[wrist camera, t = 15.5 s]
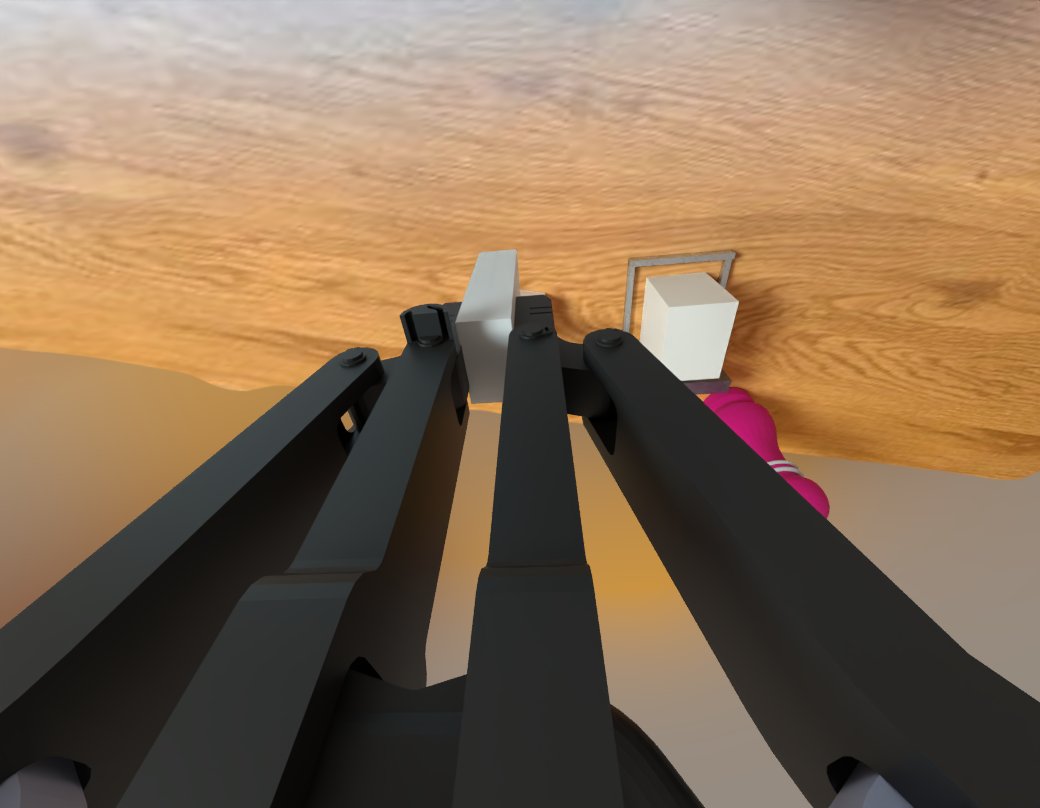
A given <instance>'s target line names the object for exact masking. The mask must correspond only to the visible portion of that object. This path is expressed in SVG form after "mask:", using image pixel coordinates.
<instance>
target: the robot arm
mask: <svg viewBox="0 0 1040 808" xmlns="http://www.w3.org/2000/svg"><path fill="white" fill-rule="evenodd" d="M400 319H401V322H402V326H403V329H404V332H405V336H406V339H407V345H406V347H405V349H404V351H403V353H402V355H401V356H398V357H395V358H390V359H386V360H382V361H381V359H380V357H379V354H378V351H376V350H375V349H372V348H360V347H357V348H354V349H353V348H352V349H348V350H346V351H345V352H343V353H340V354H338V355H337V356H335V357H334V358H332V359H331V360H330V361H328V362H327V363H326V364H325V365H324V366H322V367H321V368H320V369H319V370H317V371H316V372H315V373H314V374H313V375H311V376H310V377H309V378H308V379H306V380H305V381H304V382H303V383H302V384H300V385H299V386H298V387H297V388H295V389H294V390H293V391H292V392H291V393H289V394H288V395H287V396H286V397H284V398H283V399H282V400H281V401H280V402H278V403H277V404H276V405H275V406H273V407H272V408H271V409H270V410H268V411H267V412H266V413H265V414H264V415H262V416H261V417H260V418H259V419H258V420H256V421H255V422H254V423H252V424H251V425H250V426H249V427H248V428H246V429H245V430H244V431H243V432H242V433H240V434H239V435H238V436H237V437H235V438H234V439H233V440H232V441H230V442H229V443H228V444H227V445H226V446H224V447H223V448H222V449H221V450H220V451H218V452H217V453H216V454H214V455H213V456H212V457H211V458H210V459H208V460H207V461H206V462H205V463H203V464H202V465H201V466H200V467H199V468H197V469H196V470H195V471H194V472H192V473H191V474H190V475H189V476H188V477H186V478H185V479H184V480H183V481H182V482H180V483H179V484H178V485H176V486H175V487H174V488H173V489H172V490H171V491H169V492H168V493H167V494H165V495H164V496H163V497H162V498H161V499H159V500H158V501H157V502H156V503H154V504H153V505H152V506H151V507H150V508H148V509H147V510H146V511H145V512H143V513H142V514H141V515H140V516H139V517H137V518H136V519H135V520H134V521H133V522H131V523H130V524H129V525H127V526H126V527H125V528H124V529H123V530H121V531H120V532H119V533H118V534H116V535H115V536H114V537H113V538H111V539H110V540H109V541H108V542H107V543H105V544H104V545H103V546H102V547H100V548H99V549H98V550H97V551H96V552H94V553H93V554H92V555H91V556H89V557H88V558H87V559H86V560H85V561H83V562H82V563H81V564H80V565H78V566H77V567H76V568H75V569H74V570H72V571H71V572H70V573H69V574H67V575H66V576H65V577H64V578H63V579H61V580H60V581H59V582H58V583H56V584H55V585H54V586H53V587H51V588H50V589H49V590H48V591H47V592H45V593H44V594H43V595H42V596H40V597H39V598H38V599H37V600H36V601H34V602H33V603H32V604H31V605H29V606H28V607H27V608H26V609H25V610H23V611H22V612H21V613H20V614H18V615H17V616H16V617H15V618H14V619H12V620H11V621H10V622H9V623H7V624H6V625H5V626H4V627H2V628H1V629H0V808H705V807H704V806H703V805H702V803H701V802H700V801H699V799H698V798H697V797H696V795H695V794H694V793H693V792H692V790H691V789H690V788H689V786H688V785H687V784H686V782H685V781H684V780H683V778H682V777H681V776H680V775H679V773H678V772H677V771H676V769H675V768H674V767H673V765H672V764H671V763H670V762H669V760H668V759H667V758H666V756H665V755H664V754H663V753H662V751H661V750H660V749H659V748H658V746H657V745H656V744H655V743H654V742H653V741H652V740H651V739H650V738H649V737H648V735H646V733H645V732H644V731H643V730H642V729H641V728H640V727H639V726H638V725H637V724H635V722H633V721H632V720H631V719H629V718H628V717H627V716H626V715H625V714H624V713H623V712H621V711H620V710H619V709H617V708H616V707H614V706H613V705H611V704H610V701H609V694H608V686H607V679H606V672H605V665H604V657H603V650H602V643H601V635H600V629H599V621H598V614H597V606H596V599H595V593H594V586H593V579H592V574H591V570H590V566H589V565H588V564H587V561H586V556H585V549H584V542H583V534H582V525H581V518H580V510H579V502H578V494H577V487H576V479H575V471H574V463H573V456H572V448H571V440H570V432H569V424H568V416H567V414H572V415H578V416H582V420H583V424H584V426H585V428H586V430H587V431H588V433H589V435H590V437H591V438H592V440H593V442H594V444H595V445H596V447H597V449H598V451H599V452H600V454H601V456H602V458H603V459H604V461H605V463H606V465H607V466H608V468H609V470H610V472H611V474H612V475H613V477H614V479H615V480H616V482H617V484H618V486H619V488H620V489H621V491H622V493H623V495H624V496H625V498H626V500H627V501H628V503H629V505H630V507H631V508H632V510H633V512H634V514H635V515H636V517H637V519H638V521H639V523H640V524H641V526H642V528H643V529H644V531H645V533H646V535H647V537H648V538H649V540H650V542H651V544H652V545H653V547H654V549H655V551H656V552H657V554H658V556H659V558H660V559H661V561H662V563H663V565H664V566H665V568H666V570H667V572H668V573H669V575H670V577H671V579H672V581H673V582H674V584H675V586H676V587H677V589H678V591H679V593H680V594H681V596H682V598H683V600H684V601H685V603H686V605H687V607H688V608H689V610H690V612H691V614H692V616H693V617H694V619H695V621H696V623H697V624H698V626H699V628H700V629H701V631H702V633H703V635H704V636H705V638H706V640H707V641H708V644H709V645H710V647H711V649H712V650H713V652H714V654H715V656H716V658H717V659H718V661H719V663H720V665H721V666H722V668H723V670H724V672H725V673H726V675H727V677H728V679H729V680H730V682H731V684H732V686H733V687H734V689H735V691H736V693H737V694H738V696H739V698H740V700H741V702H742V703H743V705H744V707H745V709H746V710H747V712H748V713H749V715H750V717H751V718H752V720H753V721H754V723H755V725H756V726H757V728H758V730H759V731H760V733H761V734H762V736H763V738H764V739H765V741H766V742H767V744H768V746H769V747H770V749H771V750H772V752H773V754H774V755H775V756H776V758H777V759H778V760H779V762H780V763H781V765H782V766H783V767H784V769H785V770H786V771H787V773H788V774H789V775H790V777H791V778H792V780H793V781H794V782H795V784H796V785H797V786H798V788H799V789H800V791H801V792H802V794H803V795H804V796H805V798H806V799H807V800H808V802H809V803H810V804H811V805H812V806H813V808H1040V702H1038V701H1037V700H1035V699H1034V698H1032V697H1031V696H1030V695H1028V694H1027V693H1025V692H1024V691H1022V690H1021V689H1019V688H1018V687H1016V686H1015V685H1013V684H1012V683H1010V682H1009V681H1007V680H1006V679H1005V678H1003V677H1002V676H1000V675H999V674H997V673H996V672H994V671H993V670H991V669H990V668H988V667H987V666H985V665H984V664H983V663H981V662H979V661H978V660H977V659H975V658H974V657H972V656H971V655H969V654H968V653H967V652H966V651H965V650H964V649H963V648H962V647H961V646H959V644H958V643H956V642H955V641H954V640H953V639H952V638H951V637H950V636H949V635H948V634H947V633H946V632H945V631H944V630H943V629H942V628H941V627H940V626H938V624H936V623H935V622H934V621H933V620H932V619H931V618H930V617H929V616H928V615H927V614H926V613H925V612H924V611H923V610H922V609H921V608H920V607H918V605H916V604H915V603H914V602H913V601H912V600H911V599H910V598H909V597H908V596H907V595H906V594H905V593H904V592H903V591H902V590H900V589H899V587H897V586H896V585H895V584H894V583H893V582H892V581H891V580H890V579H889V578H888V577H887V576H886V575H885V574H884V573H882V571H881V570H880V569H879V568H877V567H876V566H875V565H874V564H873V563H872V562H871V561H870V560H869V559H868V558H867V557H866V556H865V555H864V554H863V553H862V552H861V551H859V550H858V549H857V548H856V547H855V546H854V545H853V544H852V543H851V542H850V541H849V540H848V539H847V538H846V537H845V536H844V535H843V534H842V533H841V532H840V531H838V530H837V529H836V528H835V527H834V526H833V525H832V524H831V523H830V522H829V521H828V520H827V519H826V518H825V517H824V516H823V515H822V514H821V513H820V512H818V511H817V510H816V509H815V508H814V507H813V506H812V505H811V504H810V503H809V502H808V501H807V500H806V499H805V498H804V497H803V496H802V495H801V494H800V493H798V492H797V491H796V490H795V489H794V488H793V487H792V486H791V485H790V484H789V483H788V482H787V481H786V480H785V479H784V478H783V477H782V476H781V475H780V474H778V473H777V472H776V471H775V470H774V469H773V468H772V467H771V466H770V465H769V464H768V463H767V462H766V461H765V460H764V459H763V458H762V457H761V456H760V455H758V454H757V453H756V452H755V451H754V450H753V449H752V448H751V447H750V446H749V445H748V444H747V443H746V442H745V441H744V440H743V439H742V438H741V437H739V436H738V435H737V434H736V433H735V432H734V431H733V430H732V429H731V428H730V427H729V426H728V425H727V424H726V423H725V422H724V421H723V420H722V419H721V418H719V417H718V416H717V415H716V414H715V413H714V412H713V411H712V410H711V409H710V408H709V407H708V406H707V405H706V404H705V403H704V402H703V401H702V400H701V399H699V398H698V397H697V396H696V395H695V394H694V393H693V392H692V391H691V390H690V389H689V388H688V387H687V386H686V385H685V384H684V383H683V382H682V381H681V380H679V379H678V378H677V377H676V376H675V375H674V374H673V373H672V372H671V371H670V370H669V369H668V368H667V367H666V366H665V365H664V364H663V363H662V362H660V361H659V360H658V359H657V358H656V357H655V356H654V355H653V354H652V353H651V352H650V351H649V350H648V349H647V348H646V347H645V346H644V345H643V344H642V343H640V342H639V341H638V340H637V339H636V338H635V337H634V336H633V335H631V334H630V333H628V332H625V331H622V330H619V329H614V328H613V329H612V328H607V329H603V330H597V331H594V332H591V333H589V334H588V335H586V336H585V338H584V340H583V344H576V343H570V342H567V341H564V340H562V339H560V338H559V337H558V336H557V332H556V330H555V328H554V320H553V313H552V304H551V299H549V298H548V297H547V296H545V295H531V296H521V295H520V284H519V272H518V261H517V249H515V250H503V251H491V252H480V253H479V256H478V259H477V262H476V264H475V267H474V270H473V273H472V276H471V279H470V282H469V284H468V287H467V290H466V293H465V296H464V299H463V302H454V303H445V304H443V305H440V304H425V305H419V306H415V307H412V308H410V309H408V310H406V311H404V312H403V313H402V314H401V315H400ZM468 392H469V394H470V399H471V404H476V403H492V402H503V403H502V414H501V425H500V436H499V447H498V458H497V468H496V479H495V490H494V501H493V512H492V524H491V535H490V545H489V555H488V562H487V565H486V567H484V568H482V569H481V572H480V574H479V578H478V584H477V590H476V598H475V607H474V616H473V625H472V634H471V643H470V652H469V661H468V670H467V674H466V675H463V676H460V677H457V678H454V679H450V680H447V681H444V682H441V683H438V684H435V685H432V686H429V687H426V679H427V678H426V676H427V673H426V659H425V649H426V639H427V634H428V629H429V623H430V618H431V613H432V608H433V602H434V597H435V592H436V587H437V582H438V576H439V571H440V566H441V561H442V555H443V550H444V544H445V539H446V534H447V529H448V523H449V518H450V513H451V508H452V503H453V498H454V492H455V487H456V482H457V477H458V471H459V466H460V460H461V455H462V450H463V445H464V439H465V435H466V429H467V423H468V418H469V407H468V402H467V396H468ZM347 411H348V413H349V415H350V417H351V420H352V422H353V424H354V425H353V426H352V427H351V429H349V430H348V431H347V430H346V429H345V427H344V425H343V423H342V421H341V417H342V416H343V415H344V414H345V413H346V412H347Z"/></svg>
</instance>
